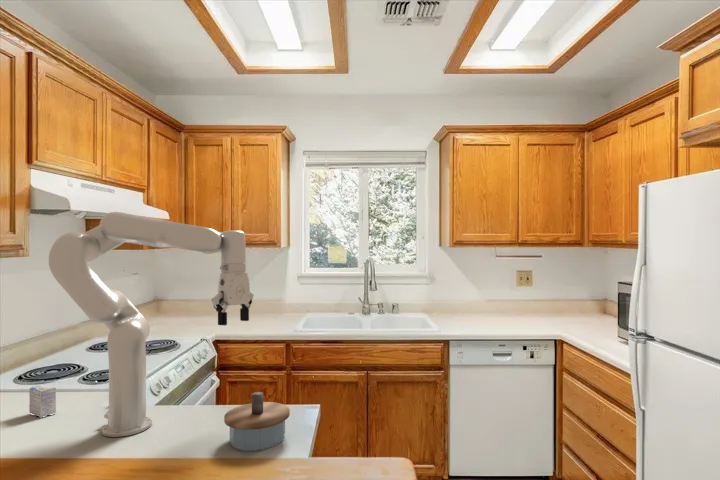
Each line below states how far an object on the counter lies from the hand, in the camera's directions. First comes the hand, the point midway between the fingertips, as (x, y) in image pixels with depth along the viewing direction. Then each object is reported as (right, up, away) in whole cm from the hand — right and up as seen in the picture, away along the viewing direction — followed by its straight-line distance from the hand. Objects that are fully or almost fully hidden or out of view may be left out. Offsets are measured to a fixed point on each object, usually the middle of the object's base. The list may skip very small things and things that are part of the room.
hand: (233, 322), depth 132 cm
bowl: (+13, -27, -21) cm, 37 cm away
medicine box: (-62, -30, +1) cm, 69 cm away
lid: (+13, -21, -21) cm, 32 cm away
